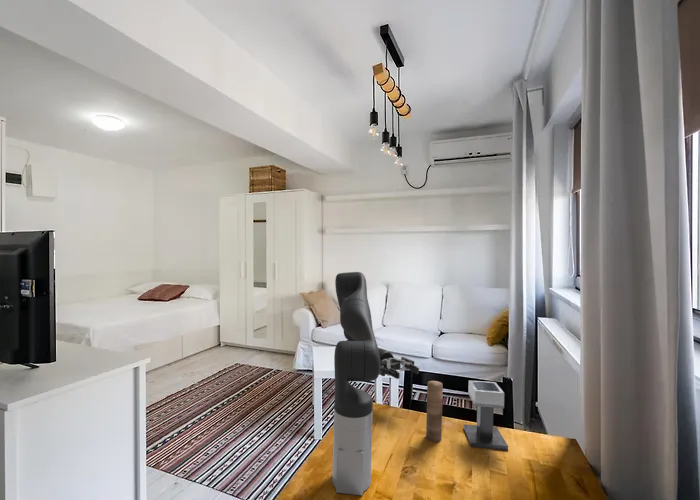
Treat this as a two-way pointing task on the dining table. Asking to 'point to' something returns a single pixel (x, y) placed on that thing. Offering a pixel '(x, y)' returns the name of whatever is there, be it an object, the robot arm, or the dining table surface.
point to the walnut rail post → (434, 411)
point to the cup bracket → (485, 415)
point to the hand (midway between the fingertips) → (408, 373)
